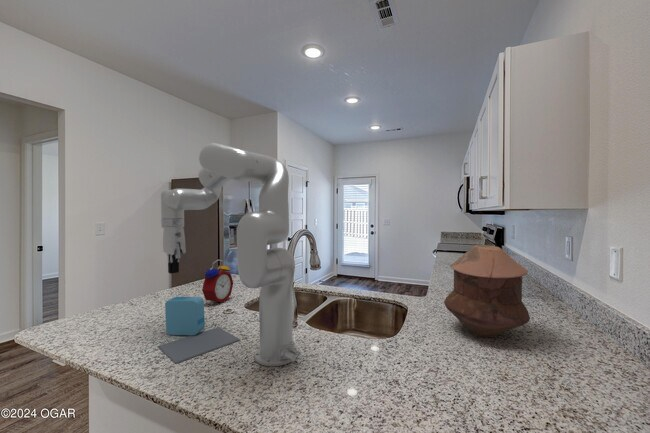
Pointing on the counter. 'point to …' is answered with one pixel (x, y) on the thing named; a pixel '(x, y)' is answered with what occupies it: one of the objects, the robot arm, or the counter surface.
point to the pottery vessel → (487, 291)
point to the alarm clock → (217, 284)
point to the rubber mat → (197, 344)
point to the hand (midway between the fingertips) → (173, 272)
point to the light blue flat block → (184, 315)
